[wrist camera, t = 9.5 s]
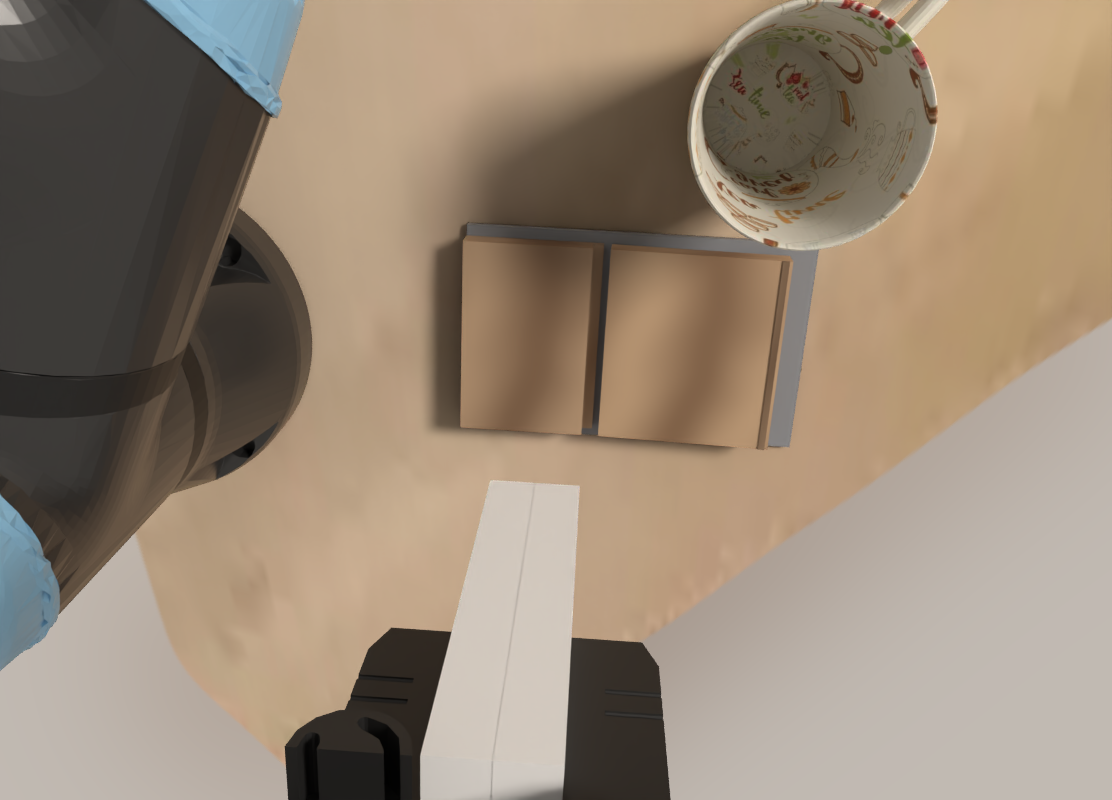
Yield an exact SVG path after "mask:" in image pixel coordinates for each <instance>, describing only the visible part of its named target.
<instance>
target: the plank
mask: <svg viewBox="0 0 1112 800" xmlns="http://www.w3.org/2000/svg"><path fill="white" fill-rule="evenodd" d="M792 269H793V260H792V259H791V257H790V256H784V255H769V254H754V253H739V252H723V251H708V250H693V249H678V248H663V247H648V246H633V245H618V244H612V247H611V257H610V271H609V285H608V299H607V314H606V328H605V342H604V357H603V371H602V385H601V400H600V414H599V428H598V436H604V437H616V438H629V439H641V440H654V441H666V442H679V443H691V444H704V445H716V446H729V447H741V448H754V449H759V450H764V449H767V447H768V440H769V433H770V426H771V419H772V412H773V404H774V397H775V390H776V383H777V376H778V369H779V362H780V354H781V347H782V340H783V333H784V326H785V319H786V311H787V304H788V297H789V290H790V283H791V276H792Z"/></svg>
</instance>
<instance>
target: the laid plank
mask: <svg viewBox="0 0 1112 800" xmlns="http://www.w3.org/2000/svg"><path fill="white" fill-rule="evenodd" d="M603 256H604V243H592V242H575V241H557V240H540V239H523V238H505V237H488V236H471V235H467V236H466V237H465V239H464V240H463V266H462V340H461V413H460V427H462V428H478V429H494V430H510V431H526V432H541V433H557V434H573V435H581V430H582V428H592V419H593V404H594V389H595V375H596V360H597V345H598V330H599V315H600V300H601V285H602V270H603Z"/></svg>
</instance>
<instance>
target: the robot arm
mask: <svg viewBox="0 0 1112 800" xmlns="http://www.w3.org/2000/svg"><path fill="white" fill-rule="evenodd" d="M304 2H305V0H0V671H1V670H2V669H3V668H4V667H5V666H6V665H7V664H9V663H10V662H11V661H12V660H13V659H14V658H15V657H17V656H18V655H19V654H20V653H22V652H23V651H25V650H27V649H30V648H31V647H32V646H33V645H35V644H36V643H38V642H40V641H41V640H42V639H43V638H44V637H45V636H46V634H47V632H48V630H49V629H50V628H51V627H52V626H53V624H54V623H55V622H56V620H57V618H58V615H59V614H60V613H61V611H62V610H63V609H64V608H65V607H66V606H67V605H68V604H69V603H70V602H71V601H72V600H73V599H74V598H75V596H76V595H77V594H78V593H79V592H80V591H81V590H82V589H83V588H84V587H85V586H86V585H87V584H88V583H89V581H90V580H91V579H92V578H93V577H94V576H95V575H96V574H97V573H98V572H99V571H100V570H101V569H102V567H103V566H104V565H105V564H106V563H107V562H108V561H109V560H110V559H111V558H112V557H113V556H114V555H115V553H116V552H117V551H118V550H119V549H120V548H121V547H122V546H123V545H124V544H125V543H126V542H127V541H128V539H129V538H130V537H131V536H132V535H133V534H134V533H135V532H136V531H137V530H138V529H139V528H140V527H141V525H142V524H143V523H144V522H145V521H146V520H147V519H148V518H149V517H150V516H151V515H152V514H153V513H154V511H155V510H156V509H157V508H158V507H159V506H160V505H161V504H162V503H163V502H164V501H165V500H166V498H167V497H168V496H169V495H170V494H172V493H175V492H179V491H182V490H185V489H188V488H192V487H195V486H198V485H201V484H204V483H208V482H211V481H214V480H217V479H219V478H221V477H223V476H226V475H228V474H230V473H232V472H233V471H235V470H237V469H239V468H240V467H242V466H243V465H245V464H246V463H248V462H249V461H251V460H252V459H253V458H254V457H256V456H257V455H258V454H259V453H260V452H261V451H263V450H264V449H265V448H266V447H267V445H268V444H269V443H270V442H271V441H272V440H273V439H274V438H275V436H276V435H277V434H278V433H279V431H280V430H281V429H282V428H283V427H284V425H285V424H286V423H287V421H288V420H289V419H290V417H291V416H292V414H293V413H294V411H295V409H296V407H297V406H298V404H299V402H300V400H301V397H302V395H303V393H304V390H305V387H306V384H307V380H308V376H309V372H310V365H311V357H312V334H311V325H310V319H309V314H308V309H307V305H306V302H305V299H304V296H303V293H302V290H301V288H300V285H299V283H298V281H297V278H296V276H295V274H294V272H293V270H292V269H291V267H290V265H289V263H288V261H287V260H286V258H285V257H284V255H283V254H282V252H281V251H280V249H279V248H278V247H277V245H276V244H275V243H274V242H273V240H272V239H271V238H270V237H269V236H268V234H267V233H266V232H265V231H264V230H263V229H262V228H261V227H260V226H259V225H258V224H257V223H256V222H255V221H254V220H253V219H252V218H250V217H249V216H248V215H247V214H246V213H245V212H243V211H242V210H241V209H239V208H238V207H239V204H240V202H241V199H242V196H243V193H244V190H245V188H246V185H247V182H248V179H249V177H250V174H251V171H252V168H253V165H254V163H255V160H256V157H257V154H258V151H259V149H260V146H261V143H262V140H263V137H264V135H265V132H266V129H267V126H268V123H269V121H270V118H271V117H273V118H278V115H279V113H280V111H281V108H282V101H281V99H280V97H279V93H278V92H279V89H280V86H281V82H282V79H283V76H284V73H285V69H286V66H287V63H288V60H289V56H290V53H291V50H292V47H293V43H294V40H295V37H296V34H297V30H298V27H299V24H300V20H301V17H302V13H303V9H304ZM579 488H580V486H575V485H560V484H544V483H529V482H514V481H498V480H490V484H489V488H488V492H487V496H486V500H485V504H484V507H483V511H482V515H481V519H480V523H479V527H478V531H477V535H476V539H475V543H474V547H473V551H472V555H471V558H470V562H469V566H468V570H467V574H466V578H465V582H464V586H463V590H462V594H461V598H460V602H459V606H458V609H457V613H456V617H455V621H454V625H453V629H452V632H445V631H431V630H416V629H402V628H391V629H390V630H389V631H388V632H386V633H385V634H384V635H383V636H382V637H381V638H380V639H379V640H378V641H377V642H375V643H374V644H373V645H372V646H371V647H370V648H369V649H368V652H367V654H366V657H365V659H364V662H363V665H362V667H361V670H360V672H359V678H358V679H357V680H356V683H355V685H354V688H353V691H352V693H351V699H350V700H349V701H348V704H347V706H346V709H345V710H339V711H335V712H332V713H329V714H326V715H323V716H320V717H317V718H315V719H313V720H312V721H310V722H309V723H307V724H306V725H304V726H303V727H301V728H300V729H298V730H297V731H296V732H295V734H294V735H293V736H292V738H291V739H290V740H289V742H288V743H287V744H286V746H285V757H286V772H287V788H288V800H670V789H669V778H668V766H667V755H666V743H665V733H664V721H663V710H662V699H661V686H660V676H659V666H658V665H657V663H656V662H655V660H654V659H653V658H652V656H651V655H650V653H649V652H648V651H647V649H646V648H645V646H644V645H643V643H640V642H626V641H611V640H597V639H582V638H572V619H573V600H574V582H575V563H576V544H577V525H578V507H579Z"/></svg>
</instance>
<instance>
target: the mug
mask: <svg viewBox="0 0 1112 800" xmlns="http://www.w3.org/2000/svg"><path fill="white" fill-rule="evenodd" d="M911 1H912V0H882V1H881V2H880V3H879V4H878V5H877V6H876V8H873V7H870V6H868V5H866V4H863V3H860V2H857V1H853V0H793V1H789V2H785V3H782V4H780V5H777V6H774V7H772V8H770V9H768V10H765V11H763V12H761V13H760V14H758V15H756V16H755V17H753V18H751V19H750V20H748V21H747V22H746V23H744V24H743V25H741V26H740V27H739V28H738V29H737V30H735V31H734V32H733V33H732V34H731V35H730V36H729V37H728V38H727V39H726V40H725V41H724V42H723V43H722V44H721V45H720V47H719V48H718V49H717V50H716V52H715V53H714V54H713V56H712V57H711V58H710V60H709V62H708V63H707V65H706V67H705V68H704V70H703V72H702V74H701V76H700V78H699V80H698V83H697V85H696V88H695V91H694V93H693V97H692V100H691V105H690V109H689V116H688V125H687V143H688V151H689V158H690V163H691V167H692V170H693V173H694V176H695V179H696V181H697V184H698V186H699V188H700V190H701V192H702V194H703V195H704V197H705V199H706V200H707V202H708V203H709V205H710V206H711V207H712V208H713V210H714V211H715V212H716V213H717V215H718V216H719V217H720V218H721V219H722V220H723V221H725V222H726V223H727V224H728V225H729V226H730V227H732V228H733V229H734V230H736V231H737V232H739V233H740V234H742V235H743V236H745V237H747V238H749V239H751V240H753V241H755V242H758V243H760V244H763V245H766V246H769V247H773V248H777V249H783V250H791V251H812V250H821V249H827V248H831V247H835V246H839V245H842V244H844V243H847V242H850V241H852V240H854V239H857V238H859V237H861V236H863V235H864V234H866V233H868V232H870V231H871V230H873V229H874V228H876V227H877V226H878V225H880V224H881V223H883V222H884V221H885V220H886V219H888V218H889V217H890V216H891V215H892V214H893V213H894V212H895V211H896V210H897V209H898V208H899V207H900V206H901V205H902V204H903V203H904V202H905V200H906V199H907V198H908V196H909V195H910V194H911V192H912V191H913V190H914V188H915V186H916V185H917V183H918V181H919V180H920V178H921V176H922V174H923V172H924V170H925V168H926V166H927V163H928V161H929V158H930V155H931V152H932V148H933V144H934V141H935V135H936V128H937V98H936V91H935V86H934V82H933V78H932V75H931V72H930V69H929V66H928V64H927V62H926V60H925V58H924V56H923V54H922V52H921V51H920V49H919V48H918V46H917V44H916V43H915V42H914V41H913V38H914V37H915V36H916V35H917V34H918V33H919V32H920V31H921V30H922V28H923V27H924V26H925V25H926V24H927V23H928V22H929V21H930V20H931V19H932V18H933V17H934V16H935V15H936V14H937V13H938V12H939V11H940V10H941V8H942V7H943V6H944V5H945V4H946V3H947V2H948V1H949V0H919V1H918V2H917V3H916V4H915V5H914V6H913V7H912V8H911V9H910V10H909V11H908V12H907V13H906V14H905V15H904V16H903V17H902V19H901V20H900V21H899V22H898V23H896V22H895V21H894V20H892V19H894V18H895V17H896V16H897V15H898V14H899V13H900V12H901V11H902V10H903V9H904V8H905V7H906V6H907V5H908V4H909V3H910V2H911Z"/></svg>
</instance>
